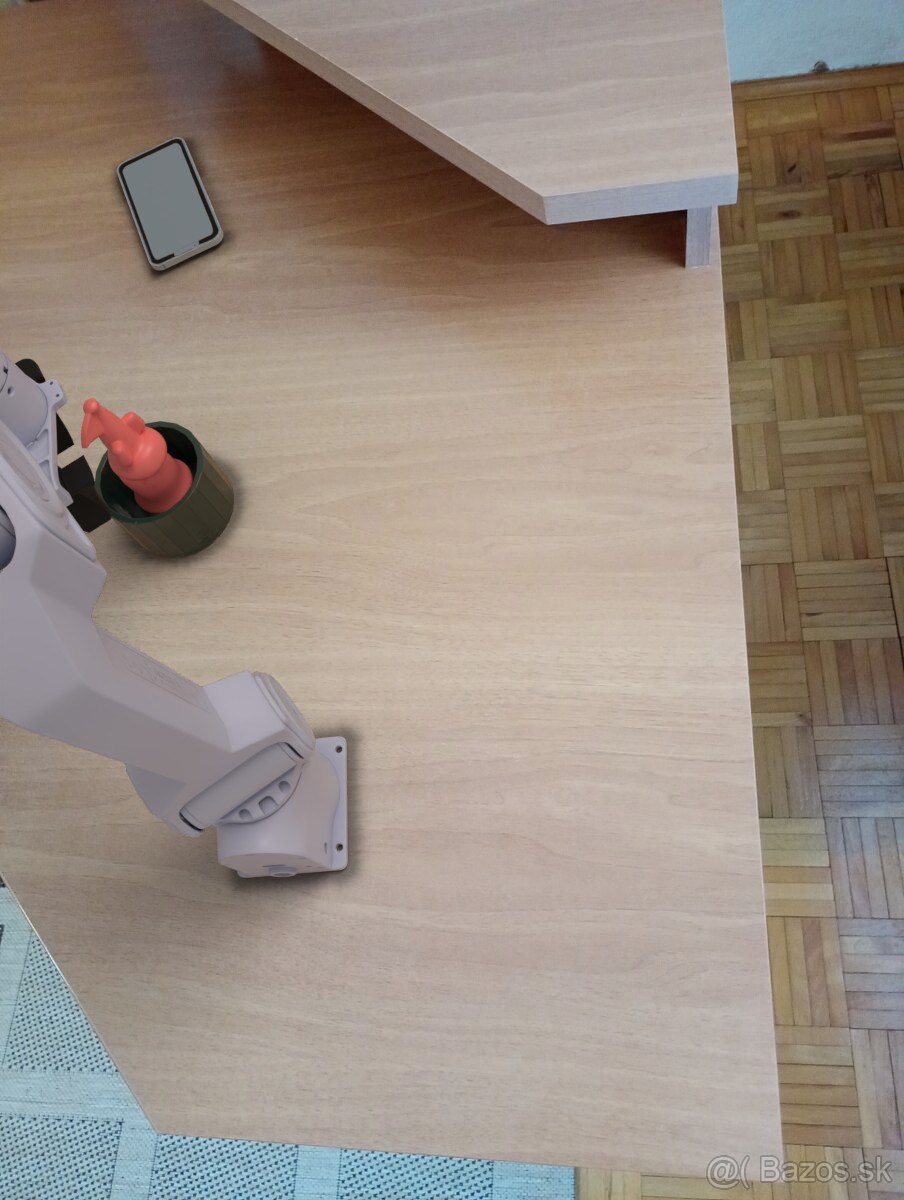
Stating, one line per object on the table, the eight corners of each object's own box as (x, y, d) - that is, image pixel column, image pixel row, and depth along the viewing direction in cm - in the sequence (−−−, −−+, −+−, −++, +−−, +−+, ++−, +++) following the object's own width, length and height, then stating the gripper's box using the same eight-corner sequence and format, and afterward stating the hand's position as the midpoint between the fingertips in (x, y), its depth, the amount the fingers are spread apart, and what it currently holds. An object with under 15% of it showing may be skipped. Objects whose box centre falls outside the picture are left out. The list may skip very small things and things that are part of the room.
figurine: (200, 536, 87) (109, 442, 73) (144, 530, 88) (45, 436, 74) (217, 480, 88) (132, 378, 75) (162, 475, 90) (68, 373, 76)
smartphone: (181, 133, 104) (224, 235, 98) (186, 141, 105) (228, 242, 99) (113, 166, 105) (151, 269, 98) (118, 173, 105) (155, 276, 99)
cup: (232, 550, 86) (200, 515, 80) (128, 564, 88) (89, 531, 82) (236, 453, 90) (205, 413, 84) (136, 468, 91) (99, 430, 85)
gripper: (62, 426, 63) (164, 527, 76) (-15, 273, 70) (90, 389, 82) (-41, 490, 63) (78, 580, 75) (-109, 331, 69) (11, 438, 82)
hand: (79, 484), depth 79 cm, fingers open, 7 cm apart
